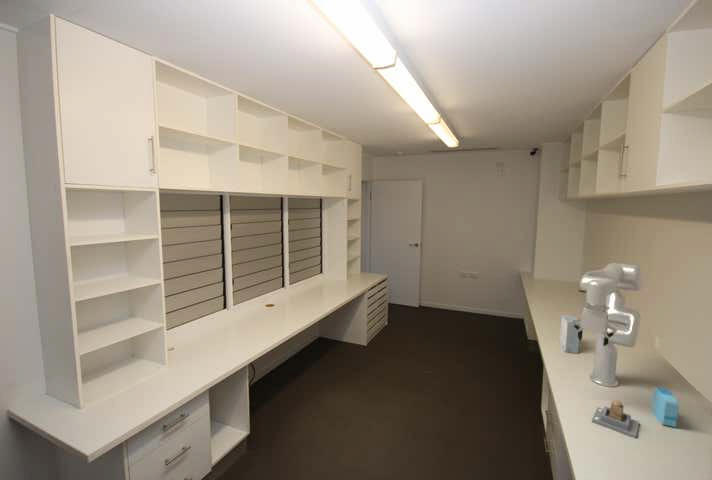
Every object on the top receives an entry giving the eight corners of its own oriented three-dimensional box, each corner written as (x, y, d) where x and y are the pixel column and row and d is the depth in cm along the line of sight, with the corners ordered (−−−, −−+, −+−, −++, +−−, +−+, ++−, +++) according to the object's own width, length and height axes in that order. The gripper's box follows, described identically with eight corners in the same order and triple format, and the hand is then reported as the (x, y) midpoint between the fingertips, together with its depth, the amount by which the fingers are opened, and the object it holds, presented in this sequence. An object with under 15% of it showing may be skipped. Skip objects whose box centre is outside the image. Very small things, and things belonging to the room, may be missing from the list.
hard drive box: (578, 354, 217) (581, 323, 215) (564, 352, 220) (567, 322, 217) (572, 344, 232) (574, 315, 230) (559, 342, 234) (561, 314, 232)
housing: (597, 409, 160) (598, 402, 160) (639, 423, 150) (639, 416, 149) (591, 422, 151) (592, 414, 150) (635, 438, 140) (636, 430, 140)
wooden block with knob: (611, 416, 153) (612, 398, 152) (622, 420, 150) (624, 402, 149) (609, 420, 150) (610, 402, 149) (620, 424, 147) (622, 406, 146)
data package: (676, 428, 147) (679, 402, 145) (662, 426, 148) (665, 399, 147) (664, 412, 157) (667, 388, 156) (651, 410, 159) (654, 386, 158)
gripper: (620, 309, 156) (616, 345, 158) (575, 301, 168) (573, 335, 170) (617, 313, 151) (614, 350, 153) (571, 304, 163) (569, 339, 165)
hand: (592, 342), depth 161 cm, fingers open, 9 cm apart
